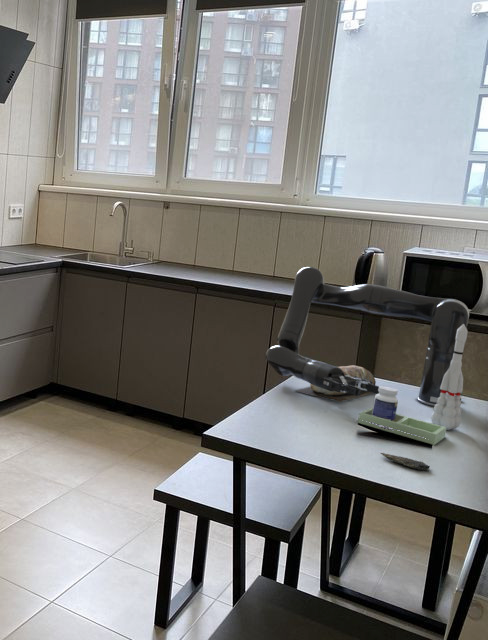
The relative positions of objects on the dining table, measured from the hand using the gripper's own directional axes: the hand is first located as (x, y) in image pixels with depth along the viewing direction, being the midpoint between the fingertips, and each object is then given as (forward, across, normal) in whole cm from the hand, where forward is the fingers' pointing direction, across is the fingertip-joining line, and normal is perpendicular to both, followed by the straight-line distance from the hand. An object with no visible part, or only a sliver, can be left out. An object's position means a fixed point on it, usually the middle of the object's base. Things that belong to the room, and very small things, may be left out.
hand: (369, 391), depth 211 cm
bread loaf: (-22, -18, -8) cm, 30 cm away
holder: (+10, -2, -8) cm, 13 cm away
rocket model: (+12, -18, -8) cm, 23 cm away
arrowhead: (+28, +23, -8) cm, 37 cm away
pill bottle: (+6, 0, -7) cm, 9 cm away
